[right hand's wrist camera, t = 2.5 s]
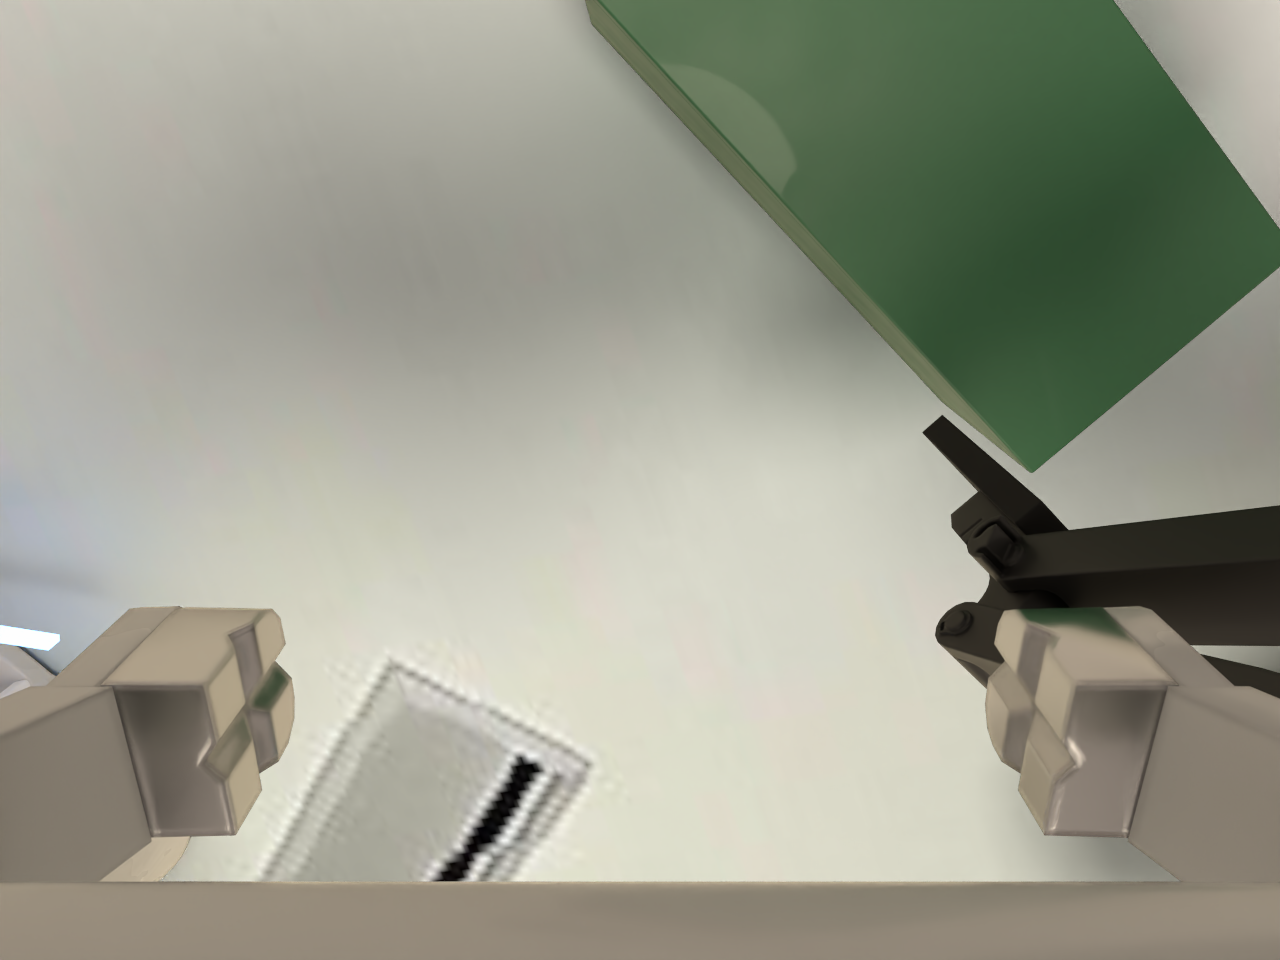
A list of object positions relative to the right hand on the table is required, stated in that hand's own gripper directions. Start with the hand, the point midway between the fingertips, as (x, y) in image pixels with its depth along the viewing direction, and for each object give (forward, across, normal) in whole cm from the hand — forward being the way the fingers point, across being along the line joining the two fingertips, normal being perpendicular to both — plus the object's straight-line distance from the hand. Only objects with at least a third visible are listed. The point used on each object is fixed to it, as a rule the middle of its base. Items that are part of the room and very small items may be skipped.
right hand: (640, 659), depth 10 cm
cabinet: (+29, +10, +6) cm, 31 cm away
